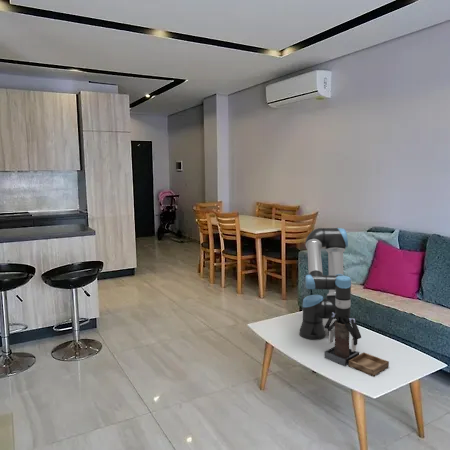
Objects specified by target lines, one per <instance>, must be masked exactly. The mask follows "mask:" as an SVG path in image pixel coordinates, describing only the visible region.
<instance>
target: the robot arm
mask: <svg viewBox="0 0 450 450" xmlns="http://www.w3.org/2000/svg"><path fill="white" fill-rule="evenodd" d="M304 245H305V248H306V250H307V265H308V266H307V267H308V274H306V275H305V283H304V284H305V288H306V289H308V290H327V291H328V293H327V295H326V298H324V296H323V295H321V294H310V295H306V296H305V297H304V298H303V300H302V304H301V305H302V306H301V307H302V323H301V325H300V328H299V335H300V337H302V338H304V339H307V340H315V341H317V340H322V339H324V338H325V337H326V336H328V344H331V343H334V329H333V328H335V321H337V322H340V323H342V324H345V327H347V329H348V330H349V335H350V336H351V337H352V338H351V349H352V352H353V351H357V345H358V340H359V339H362V335H361V331H360V329H359V327H358V325H357V319H356V318H351V304H352V302H351V301H352V300H351V299H352V297H351V295H352V279H351V277H350V276H347V275H344V252H345V251H346V248H349V247H348V246H349V238H348V232H347V230H346V229H345V228H340V227H339V228H338V227H318V228H315V229H313V230H311V232H310V233H309V234H308V235H307V237H306V239H305V244H304ZM322 248H325V251H326V252H327V253H328V258H327V259H328V261H327V262H328V274H327V275H324V274H323V263H322V262H323V261H322V253H321V252H322V251H321V249H322ZM324 319H326V320H327V321H326V323H325V325H324V323H323V320H324ZM333 320H334V321H333ZM347 323H349V324H348V325H347ZM325 329H326V330H327V332H326V330H325ZM326 333H327V335H326Z"/></svg>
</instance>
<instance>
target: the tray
mask: <svg viewBox="0 0 450 450" xmlns="http://www.w3.org/2000/svg"><path fill="white" fill-rule="evenodd" d="M348 367H350V368H352V369H353V370H355V371H359V372H362V373H364V374H366V375H368V376H371V377H376V376H378V375H379V374H380V373H382V372H384V371H385V370H387V369H388V368H389V367H390V361H388V360H386V359H382V358H380V357H378V356H375V355H372V354H369V353H366V352H361V353H359V355H358V356H356V357H354V358H353V359H351V360H349V365H348Z"/></svg>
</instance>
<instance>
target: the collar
mask: <svg viewBox="0 0 450 450" xmlns="http://www.w3.org/2000/svg"><path fill="white" fill-rule="evenodd" d="M358 355H360V351H358V350H355V351H353V352H352V348H349V357H347V358H342V357H340V356H337V355H335V346H333V347H330V348H328V349H326V350H325V351H324V354H323V357H324V359H326V360H328V361H330V362H333V363H336V364H338V365H340V366H343V367H347V366H349V360H351V359H353V358H354V357H356V356H358Z"/></svg>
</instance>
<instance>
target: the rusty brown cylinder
mask: <svg viewBox="0 0 450 450" xmlns="http://www.w3.org/2000/svg"><path fill="white" fill-rule="evenodd" d="M334 321H335V320H334ZM348 324H349V323H347V325H348ZM334 347H335V355H337V356H340V357H342V358H347V357H349V349H350V332H349V330H348V329H347V327H345V324H342V323H340V322H337V321H335V326H334Z"/></svg>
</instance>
